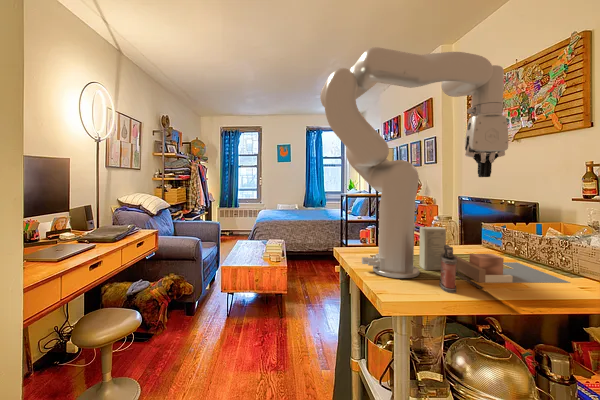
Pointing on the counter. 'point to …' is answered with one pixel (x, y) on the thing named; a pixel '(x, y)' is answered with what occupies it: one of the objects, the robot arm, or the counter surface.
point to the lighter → (448, 270)
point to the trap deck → (504, 274)
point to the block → (488, 263)
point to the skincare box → (431, 247)
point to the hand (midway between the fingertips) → (484, 176)
